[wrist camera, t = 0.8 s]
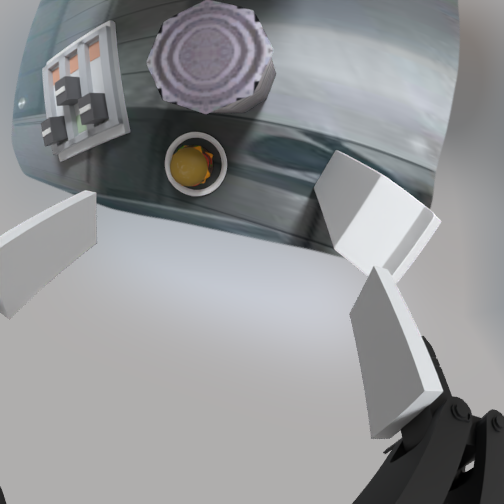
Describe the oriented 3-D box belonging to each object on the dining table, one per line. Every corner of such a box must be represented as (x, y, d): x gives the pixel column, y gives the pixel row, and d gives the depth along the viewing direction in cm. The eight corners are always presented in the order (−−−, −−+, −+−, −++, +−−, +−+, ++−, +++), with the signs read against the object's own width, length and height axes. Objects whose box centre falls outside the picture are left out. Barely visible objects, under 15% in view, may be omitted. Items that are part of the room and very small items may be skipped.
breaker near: (94, 99, 30) (76, 99, 27) (106, 93, 30) (88, 92, 26) (98, 123, 32) (80, 125, 28) (110, 117, 32) (93, 119, 28)
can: (289, 49, 27) (287, 15, 16) (259, 126, 32) (244, 126, 21) (205, 30, 27) (170, -3, 16) (178, 103, 32) (132, 98, 21)
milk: (313, 187, 35) (336, 272, 15) (336, 148, 32) (397, 183, 12) (351, 210, 35) (407, 312, 16) (374, 173, 32) (464, 239, 13)
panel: (52, 62, 29) (42, 62, 26) (115, 22, 26) (105, 18, 23) (65, 160, 37) (55, 163, 35) (130, 132, 34) (120, 133, 32)
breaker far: (57, 120, 32) (40, 123, 28) (66, 115, 32) (48, 117, 28) (61, 142, 34) (44, 146, 30) (70, 137, 33) (52, 141, 30)
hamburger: (144, 170, 37) (124, 178, 32) (190, 104, 32) (174, 101, 27) (204, 221, 39) (192, 235, 34) (258, 157, 34) (253, 163, 30)
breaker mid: (71, 83, 29) (53, 83, 25) (81, 77, 29) (63, 75, 25) (74, 105, 31) (56, 106, 27) (84, 99, 30) (66, 99, 27)
